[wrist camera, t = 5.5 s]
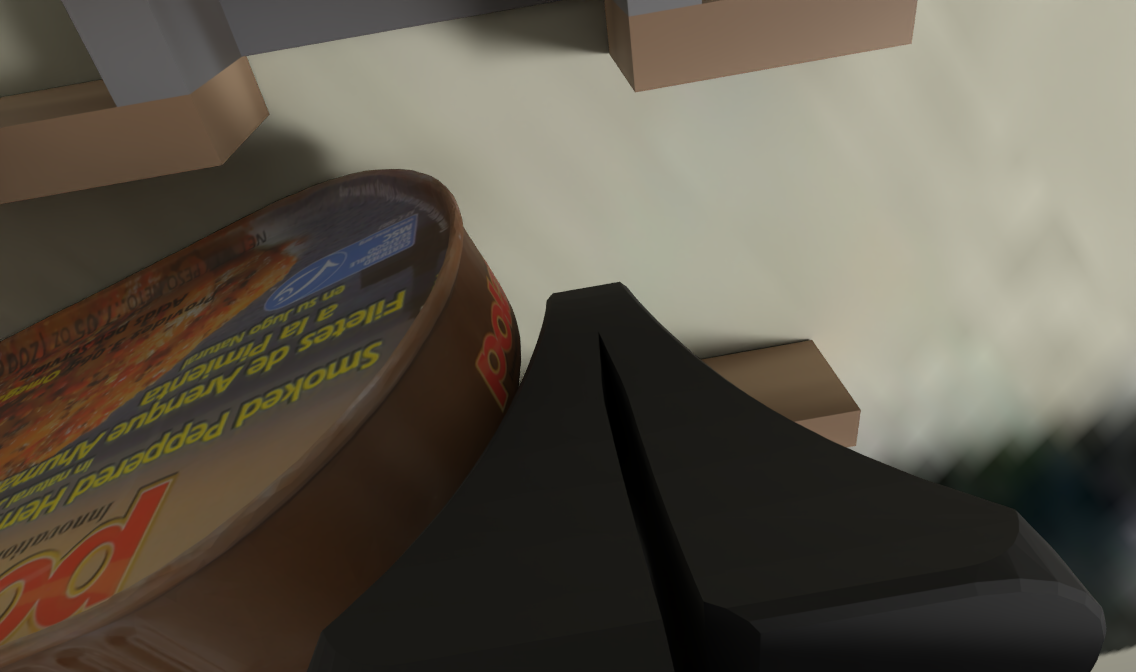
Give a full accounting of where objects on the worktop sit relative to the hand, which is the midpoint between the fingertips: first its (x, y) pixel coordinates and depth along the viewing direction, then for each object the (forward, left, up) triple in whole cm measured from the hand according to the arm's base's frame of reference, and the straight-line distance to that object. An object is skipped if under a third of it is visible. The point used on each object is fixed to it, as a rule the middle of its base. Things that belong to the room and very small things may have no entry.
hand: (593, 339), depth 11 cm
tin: (-1, +8, -4) cm, 9 cm away
